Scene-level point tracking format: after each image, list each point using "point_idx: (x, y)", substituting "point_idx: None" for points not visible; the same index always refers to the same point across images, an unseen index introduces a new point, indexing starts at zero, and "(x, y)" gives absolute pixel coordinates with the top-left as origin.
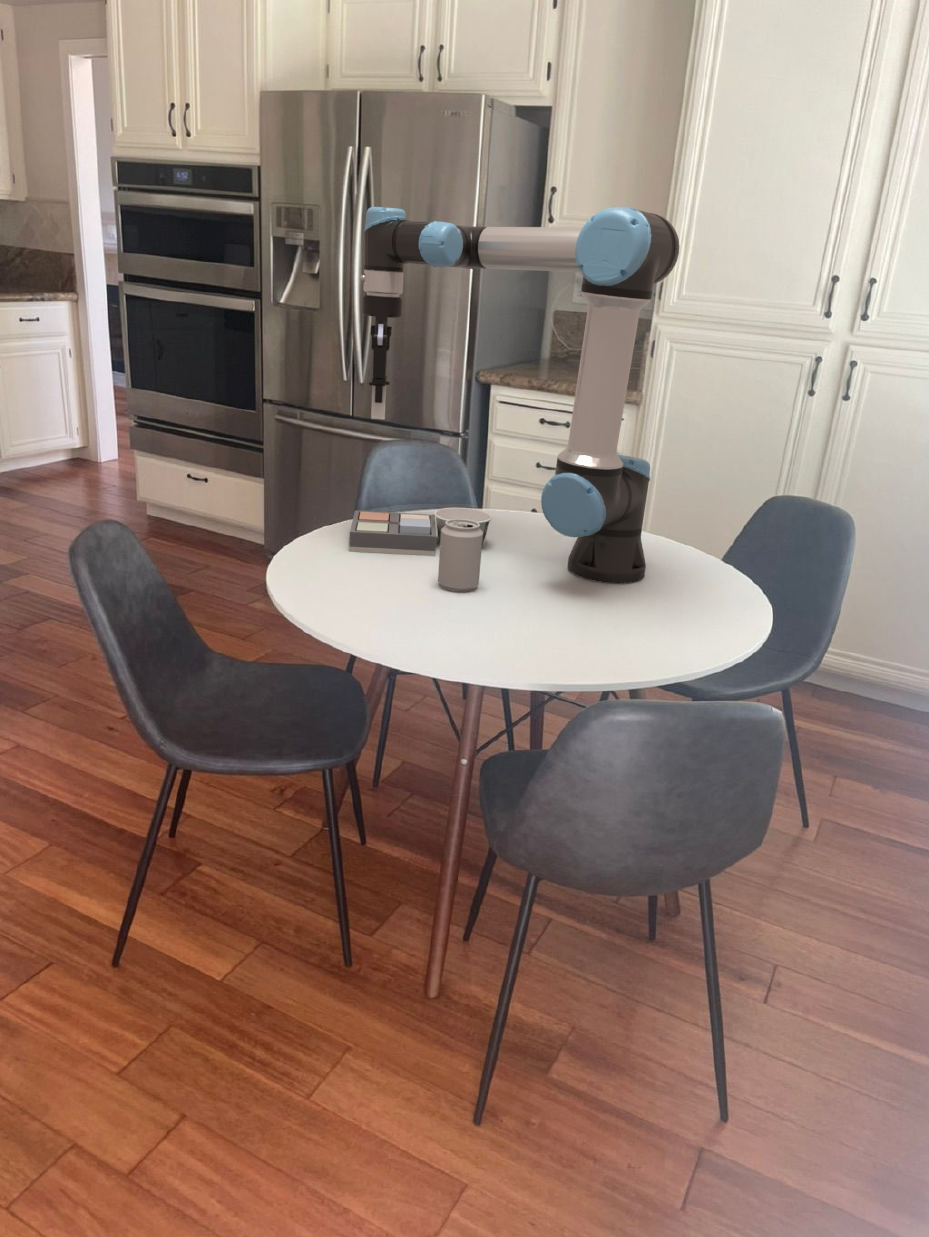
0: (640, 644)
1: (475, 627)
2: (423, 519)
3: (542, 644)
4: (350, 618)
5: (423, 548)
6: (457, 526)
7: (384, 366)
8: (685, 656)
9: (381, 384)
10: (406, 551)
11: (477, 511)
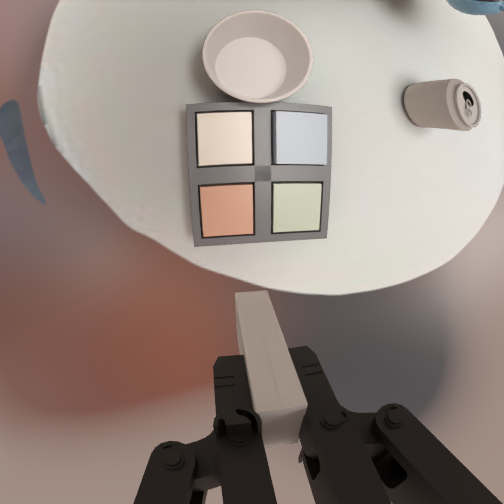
0: (474, 24)
1: None
2: (278, 122)
3: (489, 85)
4: (469, 212)
5: None
6: (470, 112)
7: (463, 471)
8: None
9: (368, 416)
10: None
11: (217, 28)
